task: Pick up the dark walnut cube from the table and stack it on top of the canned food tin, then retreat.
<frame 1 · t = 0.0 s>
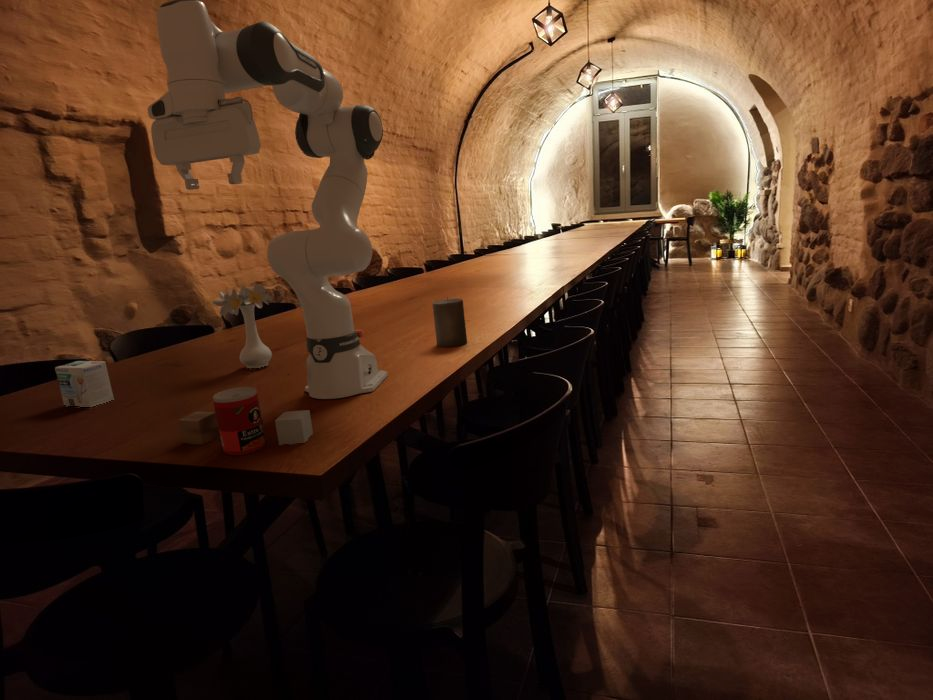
hand: (214, 186, 103), 48 cm above the table, tool pointing down, fingers open, 8 cm apart
canned food: (245, 448, 110), on the table
flower vase: (255, 367, 176), on the table
light bulb box: (89, 404, 152), on the table
walnut block: (202, 439, 117), on the table
pillar candle: (451, 344, 184), on the table
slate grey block: (296, 439, 112), on the table
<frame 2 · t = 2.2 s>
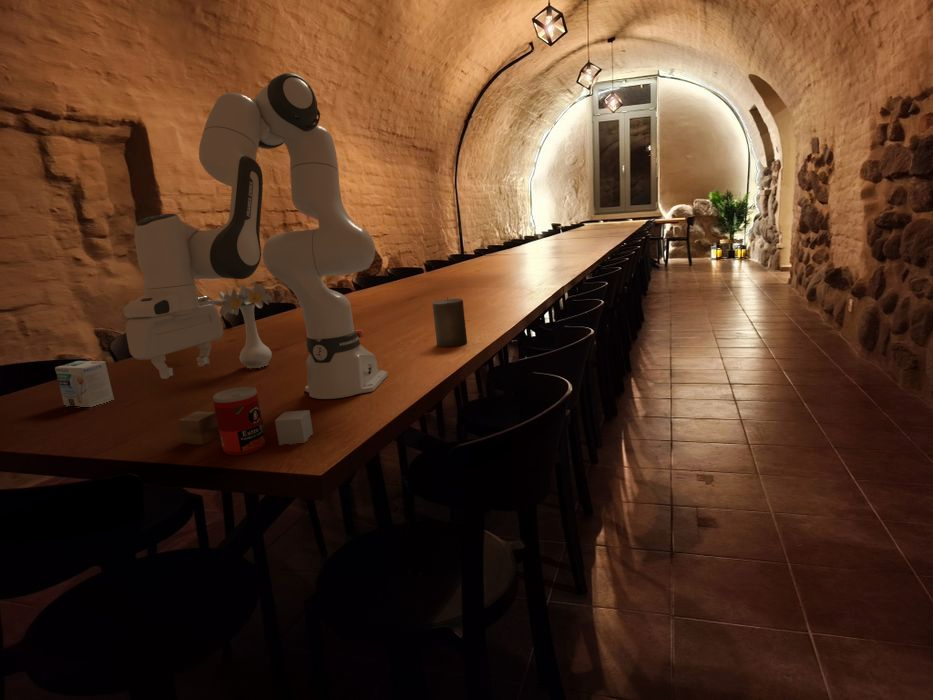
hand: (186, 371, 114), 14 cm above the table, tool pointing down, fingers open, 8 cm apart
nothing on the table moved.
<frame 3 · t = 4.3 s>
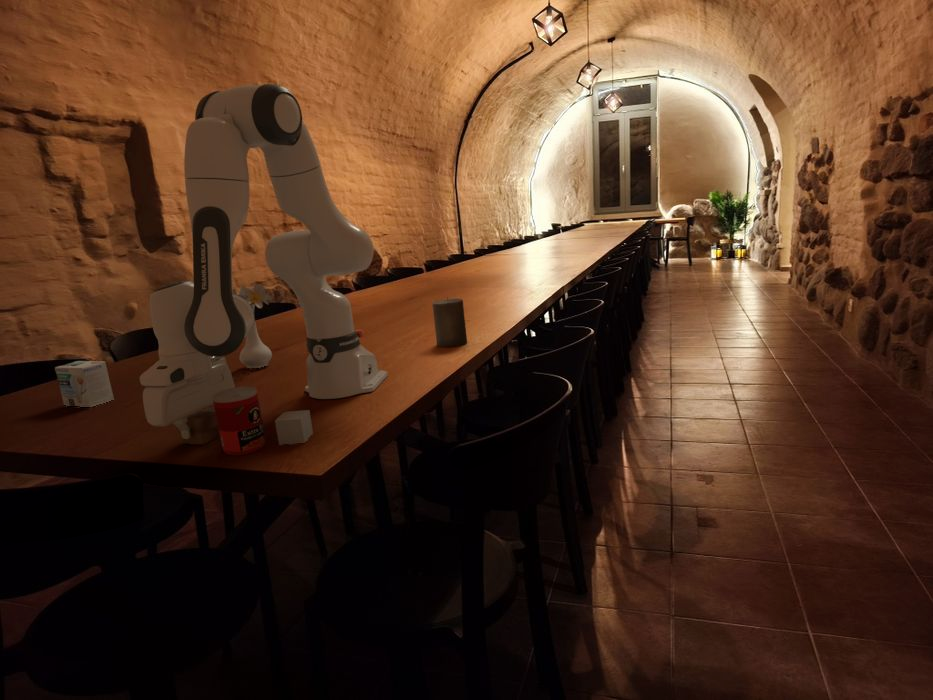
hand: (200, 431, 117), 2 cm above the table, tool pointing down, fingers closed on walnut block, 5 cm apart
walnut block: (201, 439, 117), on the table, touching gripper
everything else where it was.
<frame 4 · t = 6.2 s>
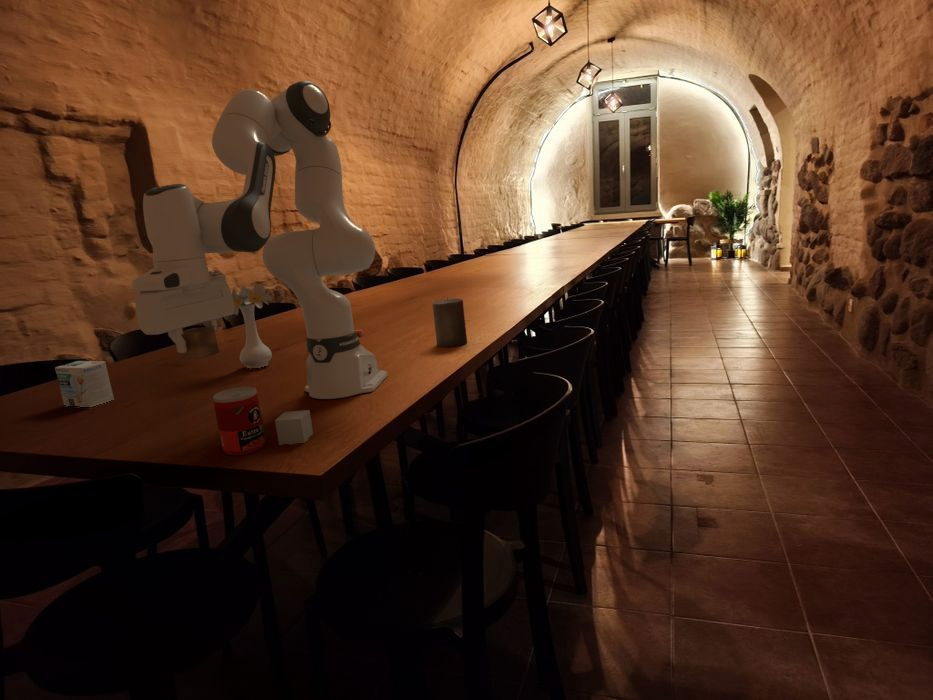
hand: (197, 347, 111), 19 cm above the table, tool pointing down, fingers closed on walnut block, 5 cm apart
walnut block: (199, 356, 111), point 18 cm above the table, touching gripper
everything else where it was.
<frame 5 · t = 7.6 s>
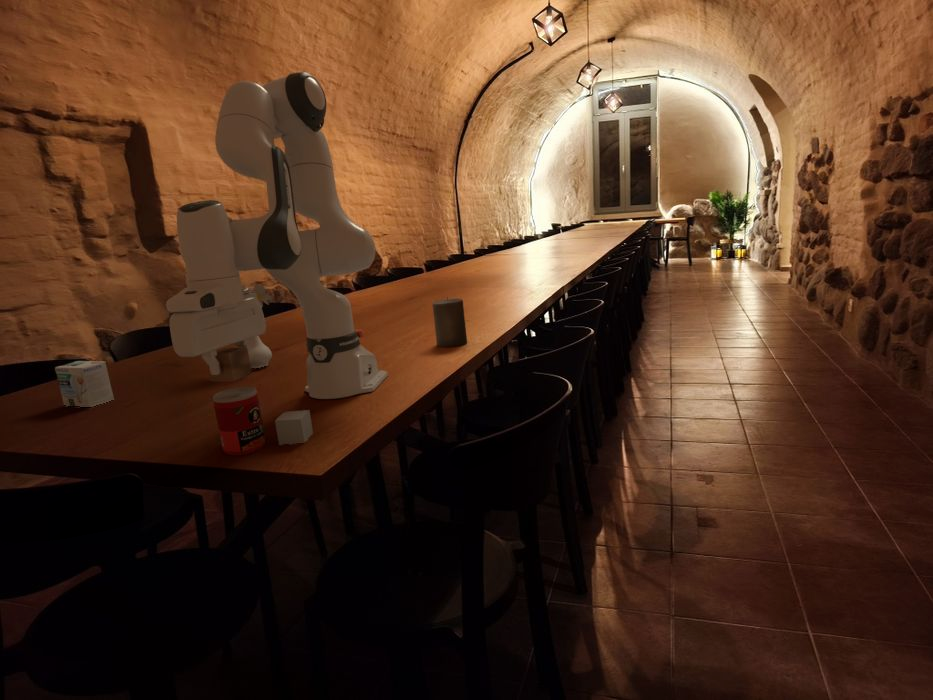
hand: (230, 369, 107), 16 cm above the table, tool pointing down, fingers closed on walnut block, 5 cm apart
walnut block: (231, 377, 107), point 14 cm above the table, touching gripper
everything else where it was.
when the fingers open (14 cm above the table, at t = 8.4 s): walnut block drops 1 cm, resting on canned food.
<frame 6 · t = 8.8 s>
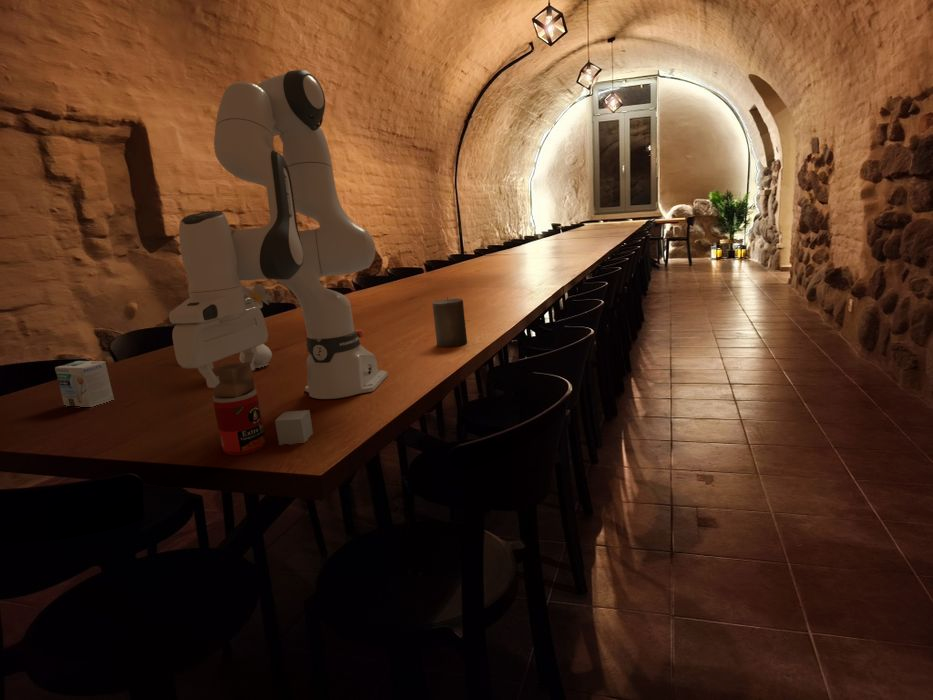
hand: (232, 378, 107), 14 cm above the table, tool pointing down, fingers open, 8 cm apart
canned food: (244, 449, 110), on the table, touching walnut block
walnut block: (234, 392, 108), point 11 cm above the table, touching canned food
everything else where it was.
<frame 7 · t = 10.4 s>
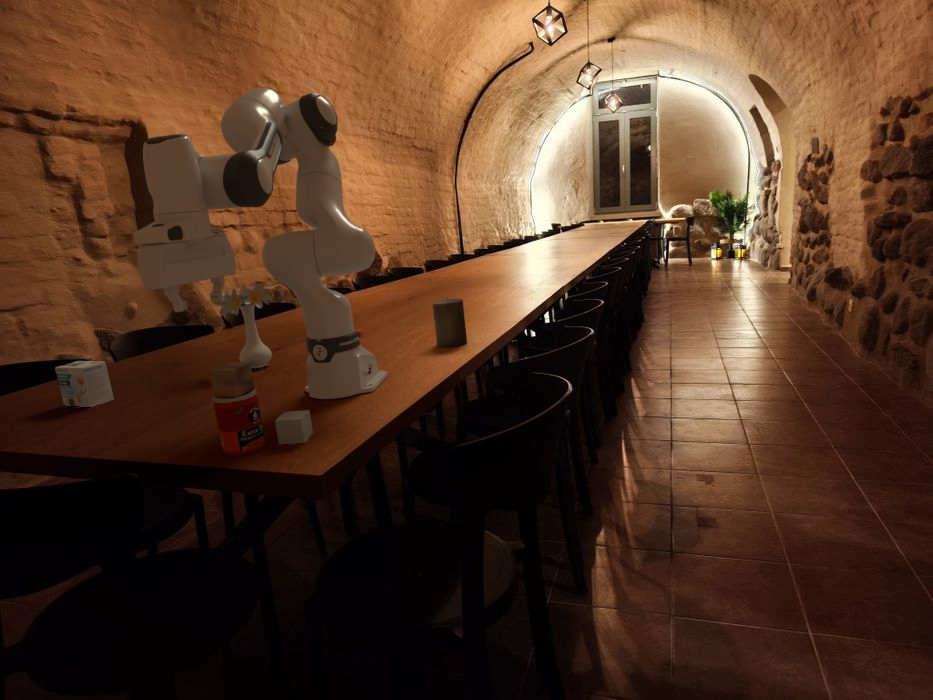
hand: (200, 306, 107), 27 cm above the table, tool pointing down, fingers open, 8 cm apart
nothing on the table moved.
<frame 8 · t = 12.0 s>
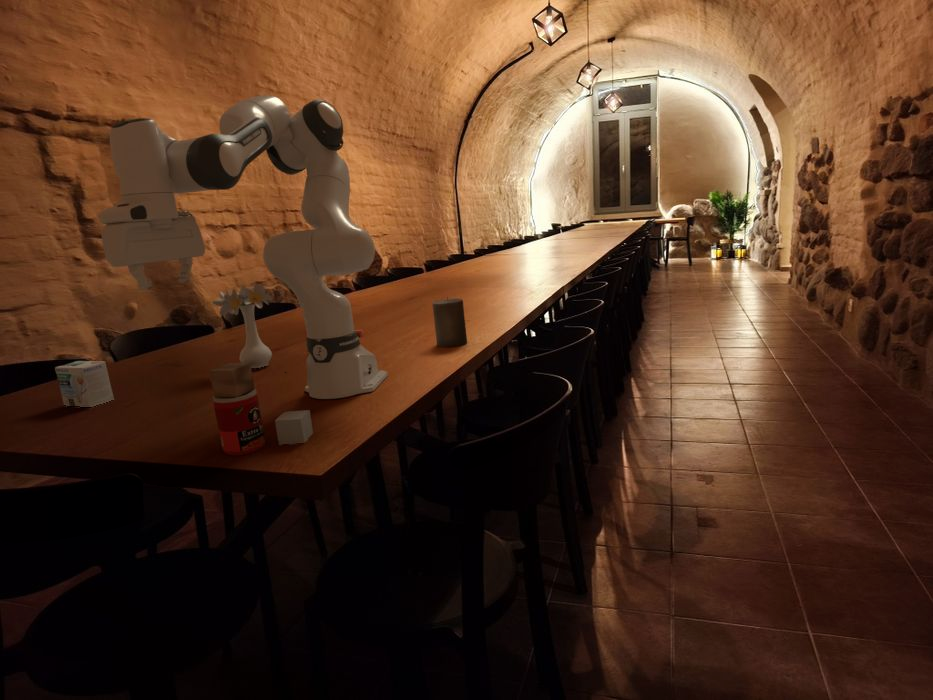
hand: (166, 285, 110), 31 cm above the table, tool pointing down, fingers open, 8 cm apart
nothing on the table moved.
at the end: walnut block inside the target area on the canned food (0.1 cm from its centre), point 11.2 cm above the canned food's base; canned food tilted 0°; the gripper is holding nothing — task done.
